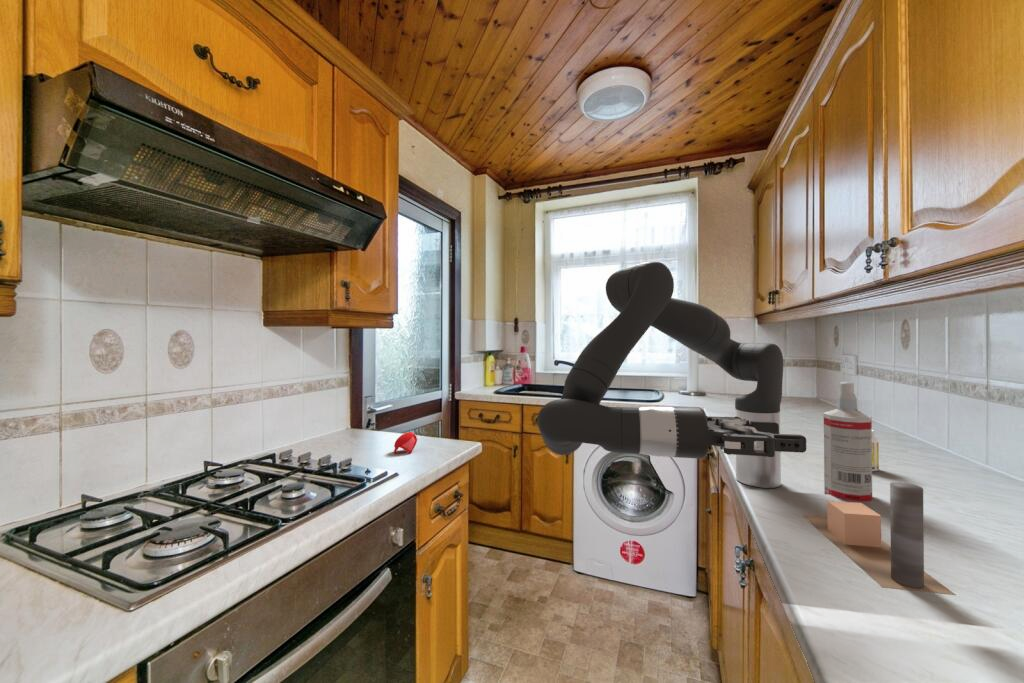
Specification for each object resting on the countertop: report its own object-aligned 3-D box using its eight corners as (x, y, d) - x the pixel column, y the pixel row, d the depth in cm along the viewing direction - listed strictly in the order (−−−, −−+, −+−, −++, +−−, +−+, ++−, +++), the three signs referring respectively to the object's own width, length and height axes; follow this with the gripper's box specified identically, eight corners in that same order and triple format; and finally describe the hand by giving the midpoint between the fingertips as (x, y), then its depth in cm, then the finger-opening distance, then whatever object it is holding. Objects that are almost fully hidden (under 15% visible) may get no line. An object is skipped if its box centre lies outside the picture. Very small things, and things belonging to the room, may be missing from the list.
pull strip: (802, 521, 75) (801, 445, 75) (852, 525, 73) (851, 447, 73) (882, 595, 53) (881, 489, 53) (955, 603, 51) (955, 493, 51)
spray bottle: (881, 510, 80) (880, 384, 79) (838, 507, 81) (837, 384, 81) (856, 494, 87) (855, 380, 87) (817, 492, 89) (816, 380, 89)
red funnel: (416, 437, 132) (400, 429, 131) (421, 434, 127) (404, 426, 126) (405, 460, 128) (388, 452, 127) (410, 458, 123) (392, 450, 122)
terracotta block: (827, 529, 69) (827, 500, 69) (861, 532, 68) (861, 502, 68) (844, 544, 64) (844, 513, 64) (881, 547, 63) (881, 515, 63)
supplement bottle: (863, 464, 107) (863, 426, 107) (884, 471, 102) (884, 431, 102) (844, 465, 107) (844, 427, 107) (865, 472, 101) (864, 432, 101)
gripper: (678, 415, 54) (816, 419, 50) (663, 399, 68) (770, 402, 64) (678, 471, 54) (816, 479, 50) (663, 444, 68) (770, 448, 64)
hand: (790, 436), depth 57 cm, fingers open, 8 cm apart
